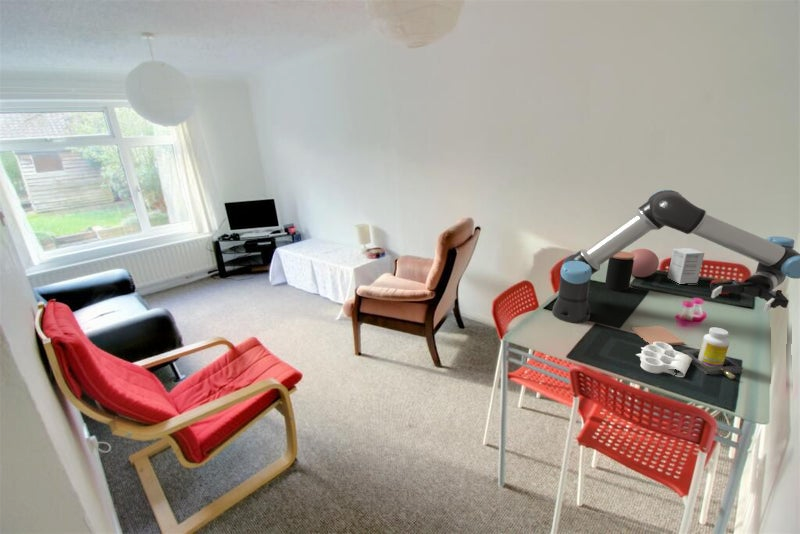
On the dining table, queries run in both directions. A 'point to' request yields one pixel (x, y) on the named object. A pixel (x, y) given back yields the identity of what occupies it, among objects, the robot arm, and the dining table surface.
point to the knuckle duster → (663, 359)
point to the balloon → (644, 263)
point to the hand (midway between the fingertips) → (738, 300)
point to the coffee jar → (619, 271)
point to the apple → (719, 281)
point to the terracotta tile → (657, 335)
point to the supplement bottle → (714, 347)
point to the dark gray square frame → (726, 370)
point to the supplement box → (685, 265)
